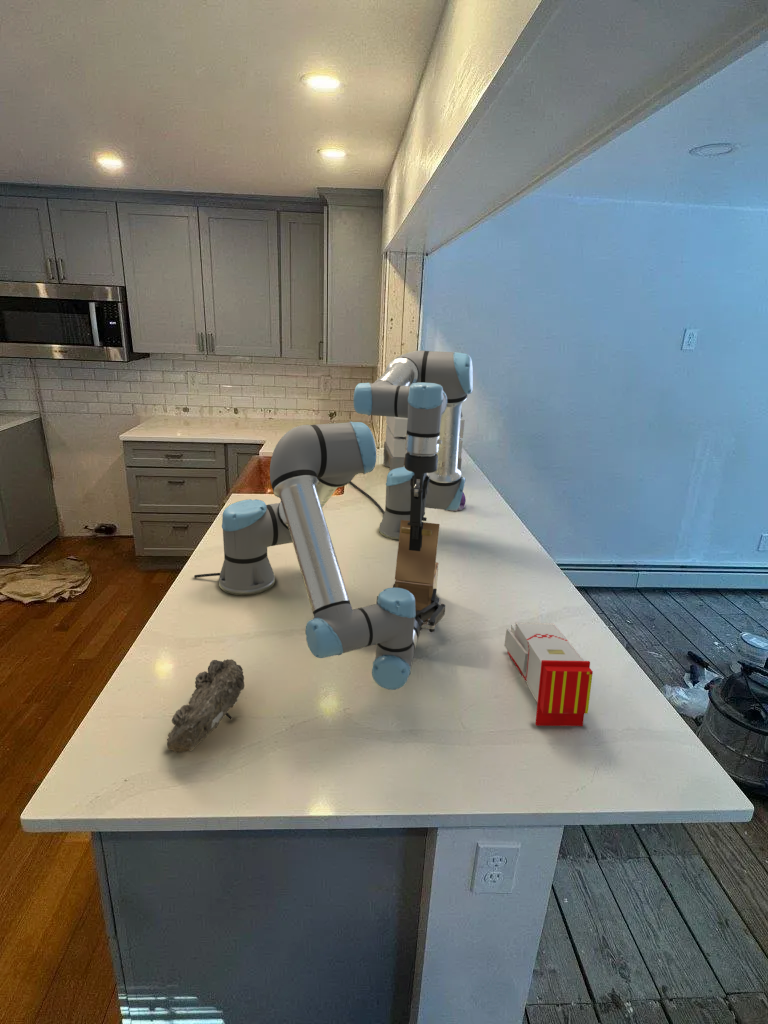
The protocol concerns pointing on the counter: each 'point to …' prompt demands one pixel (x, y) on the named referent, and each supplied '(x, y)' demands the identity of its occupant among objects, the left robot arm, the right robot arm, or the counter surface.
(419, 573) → the lid
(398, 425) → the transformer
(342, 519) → the counter surface
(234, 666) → the fossil
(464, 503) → the figurine
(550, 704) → the toy
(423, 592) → the chest
